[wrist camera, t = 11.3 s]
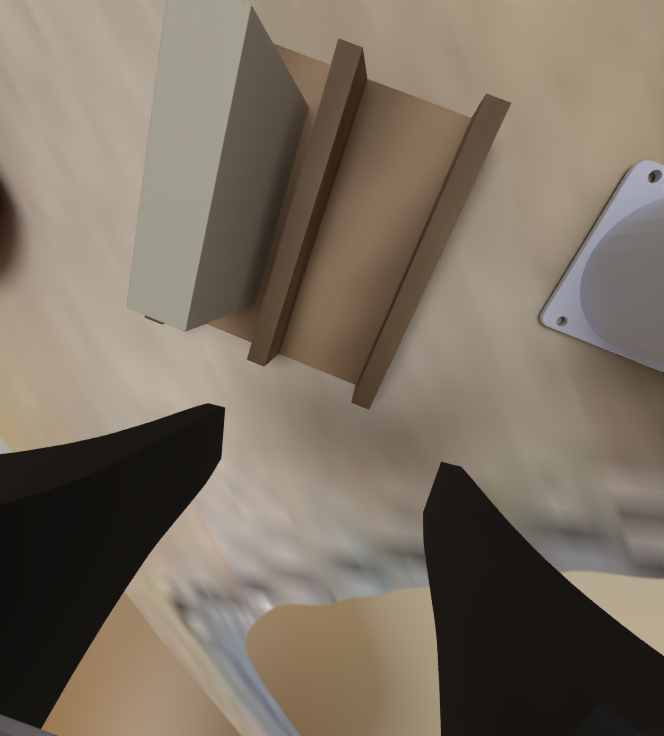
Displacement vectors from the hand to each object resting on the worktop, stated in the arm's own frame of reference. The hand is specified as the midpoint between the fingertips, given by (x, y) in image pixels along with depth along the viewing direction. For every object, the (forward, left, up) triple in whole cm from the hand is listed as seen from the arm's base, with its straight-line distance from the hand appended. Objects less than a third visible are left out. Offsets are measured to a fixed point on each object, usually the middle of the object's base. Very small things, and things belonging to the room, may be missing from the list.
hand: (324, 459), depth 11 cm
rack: (+5, -6, -10) cm, 13 cm away
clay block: (+8, -6, -9) cm, 14 cm away
